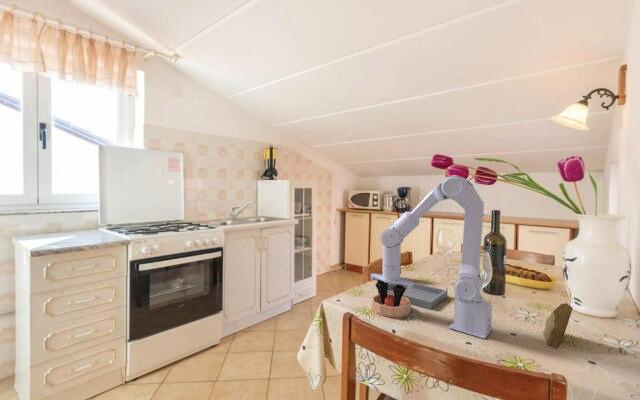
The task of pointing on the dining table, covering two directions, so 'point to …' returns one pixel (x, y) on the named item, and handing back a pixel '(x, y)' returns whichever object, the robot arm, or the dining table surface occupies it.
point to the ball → (389, 300)
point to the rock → (557, 324)
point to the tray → (422, 295)
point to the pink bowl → (391, 311)
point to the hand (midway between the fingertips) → (390, 305)
